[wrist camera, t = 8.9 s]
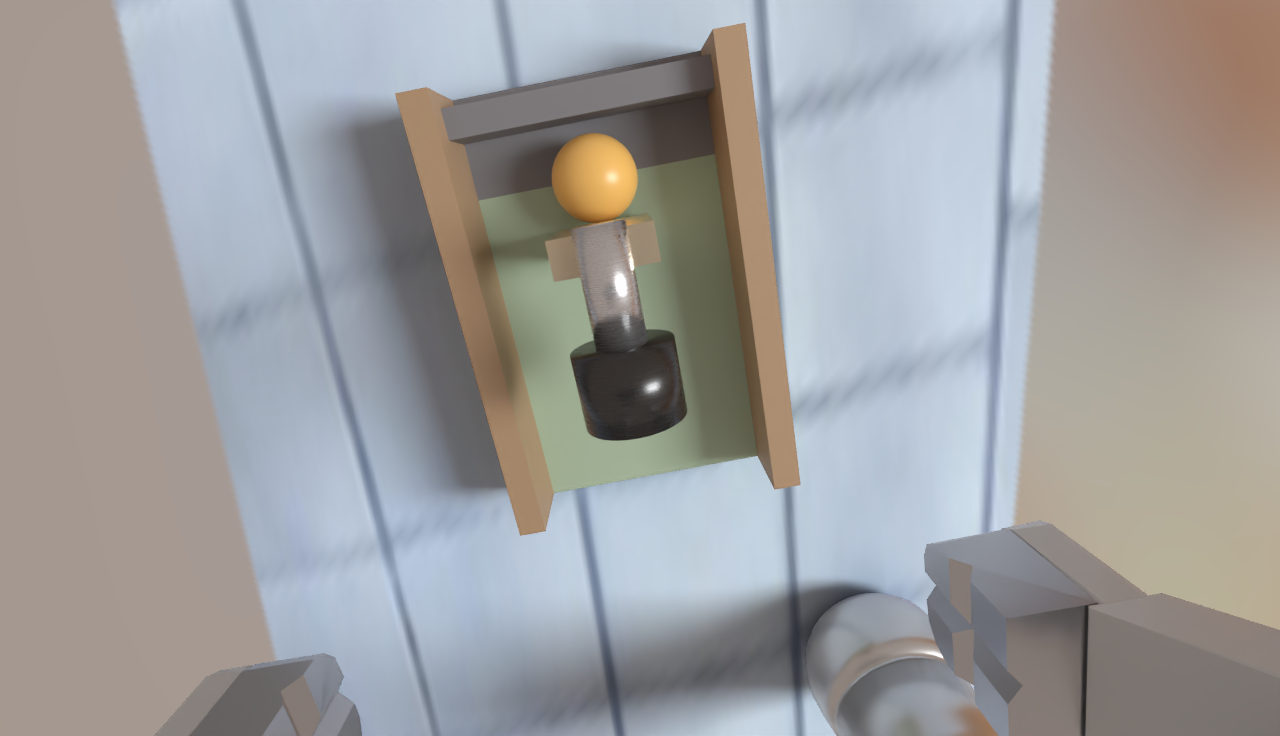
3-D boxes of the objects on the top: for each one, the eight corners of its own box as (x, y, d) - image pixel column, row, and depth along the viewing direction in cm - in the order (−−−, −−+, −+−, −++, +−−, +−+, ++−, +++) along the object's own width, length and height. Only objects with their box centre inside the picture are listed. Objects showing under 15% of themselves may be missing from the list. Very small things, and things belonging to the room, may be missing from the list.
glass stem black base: (672, 360, 24) (693, 428, 17) (594, 374, 24) (583, 448, 17) (645, 207, 22) (656, 216, 15) (561, 223, 22) (534, 239, 15)
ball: (640, 177, 19) (625, 105, 20) (547, 196, 19) (537, 122, 20) (647, 230, 22) (634, 165, 23) (566, 246, 22) (557, 180, 23)
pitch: (774, 442, 27) (800, 484, 23) (534, 486, 27) (520, 535, 23) (723, 51, 22) (745, 22, 18) (434, 109, 22) (394, 93, 18)
